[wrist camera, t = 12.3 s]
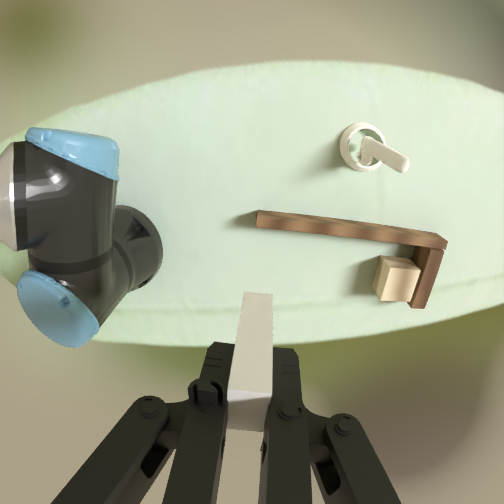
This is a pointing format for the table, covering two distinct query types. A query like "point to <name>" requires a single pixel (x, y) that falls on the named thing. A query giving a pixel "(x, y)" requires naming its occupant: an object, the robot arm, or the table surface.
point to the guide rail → (424, 254)
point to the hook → (371, 151)
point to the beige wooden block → (395, 279)
